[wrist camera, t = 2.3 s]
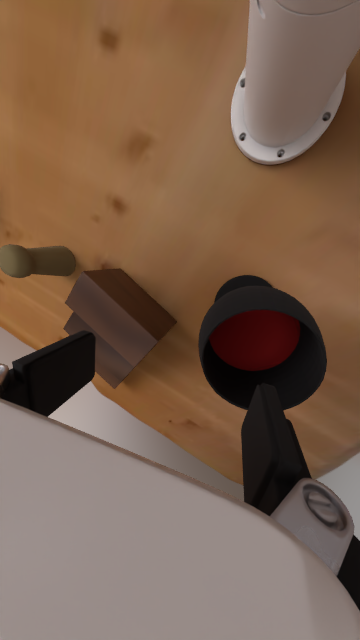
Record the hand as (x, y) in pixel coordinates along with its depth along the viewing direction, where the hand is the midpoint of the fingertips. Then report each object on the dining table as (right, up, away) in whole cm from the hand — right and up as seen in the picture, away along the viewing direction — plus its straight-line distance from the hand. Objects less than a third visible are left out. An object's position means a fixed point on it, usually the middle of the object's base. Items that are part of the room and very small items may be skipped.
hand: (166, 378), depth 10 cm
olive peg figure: (-24, +15, +29) cm, 41 cm away
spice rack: (-12, +1, +30) cm, 33 cm away
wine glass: (+12, +6, +22) cm, 26 cm away
